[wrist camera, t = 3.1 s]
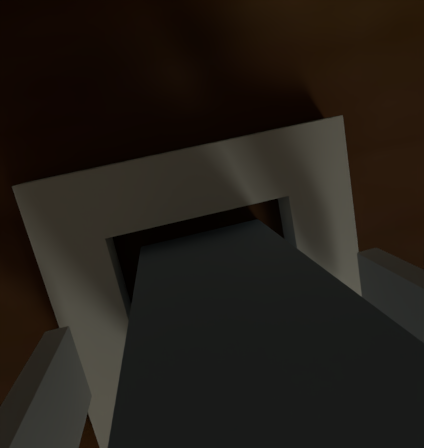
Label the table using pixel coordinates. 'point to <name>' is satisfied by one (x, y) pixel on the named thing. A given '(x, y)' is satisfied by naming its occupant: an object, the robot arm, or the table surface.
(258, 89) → the table surface
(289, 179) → the pocket collar
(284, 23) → the table surface
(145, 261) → the slate block
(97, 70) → the table surface
